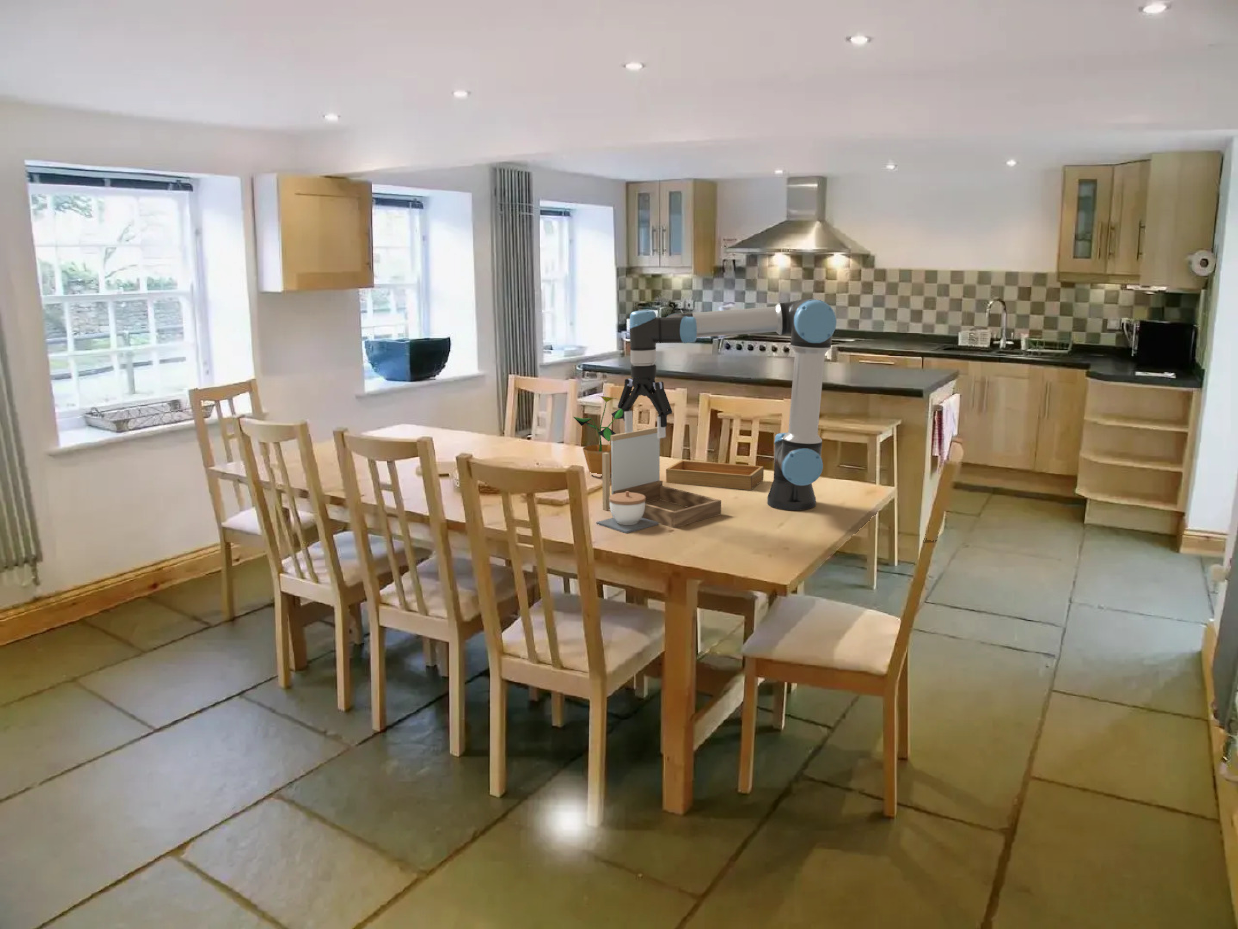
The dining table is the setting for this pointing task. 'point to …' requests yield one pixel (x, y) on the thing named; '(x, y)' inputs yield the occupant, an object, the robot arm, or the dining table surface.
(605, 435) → the potted plant
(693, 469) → the tray
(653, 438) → the white upright flat panel
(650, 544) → the dining table surface
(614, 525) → the slate mat
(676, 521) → the dark wooden box
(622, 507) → the lidded jar
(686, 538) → the dining table surface
